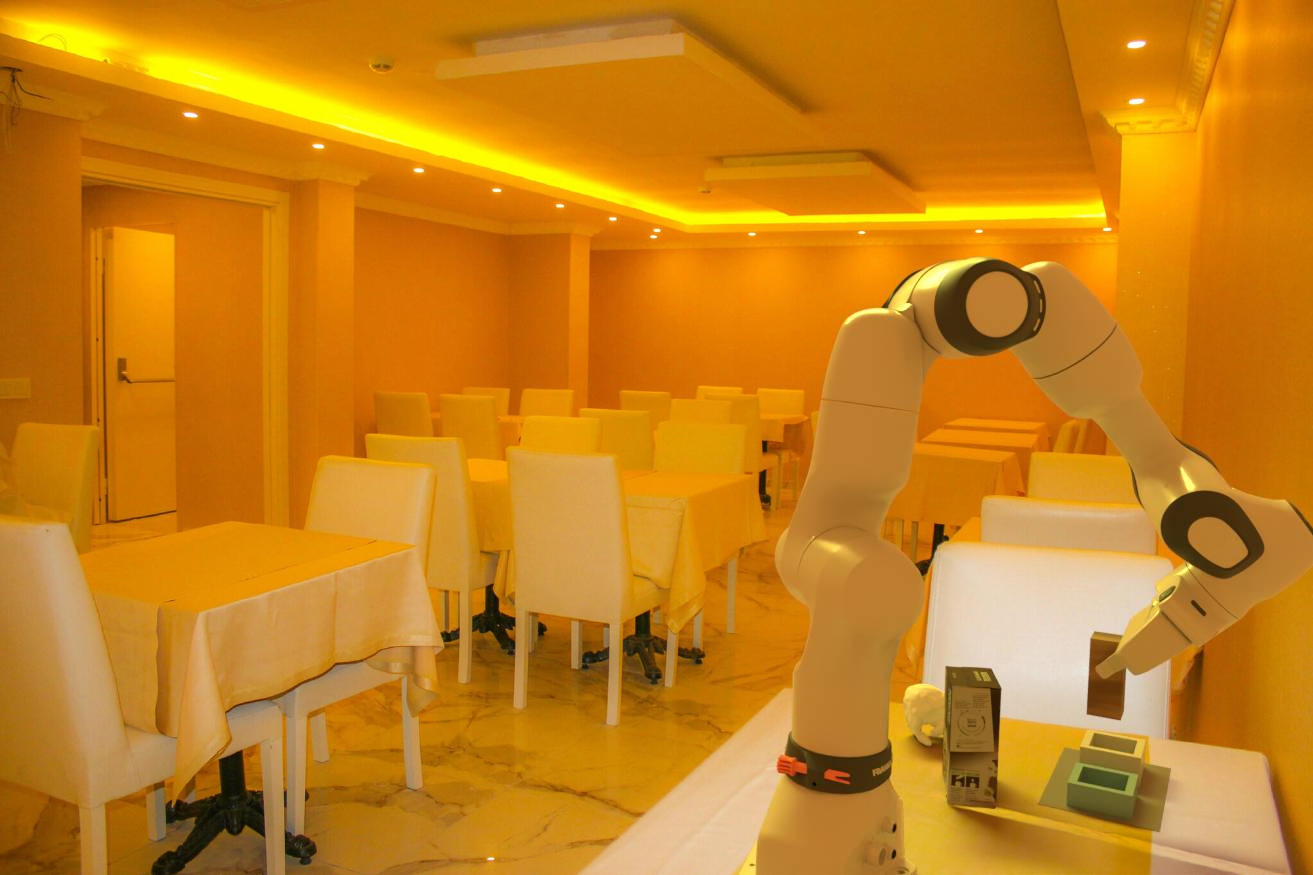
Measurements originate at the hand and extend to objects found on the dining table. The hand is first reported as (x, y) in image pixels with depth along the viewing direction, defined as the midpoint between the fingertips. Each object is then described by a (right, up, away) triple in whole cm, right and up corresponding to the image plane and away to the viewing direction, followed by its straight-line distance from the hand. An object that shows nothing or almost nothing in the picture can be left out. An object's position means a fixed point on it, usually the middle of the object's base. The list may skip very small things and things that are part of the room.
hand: (1102, 667), depth 127 cm
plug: (0, -6, 0) cm, 6 cm away
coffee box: (-16, -18, +5) cm, 25 cm away
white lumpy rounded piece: (-14, -17, +24) cm, 32 cm away
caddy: (+3, -18, +6) cm, 19 cm away
